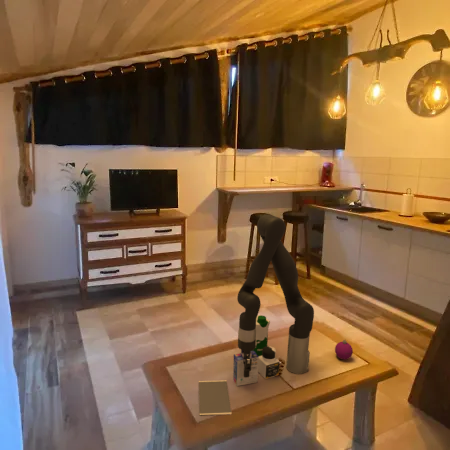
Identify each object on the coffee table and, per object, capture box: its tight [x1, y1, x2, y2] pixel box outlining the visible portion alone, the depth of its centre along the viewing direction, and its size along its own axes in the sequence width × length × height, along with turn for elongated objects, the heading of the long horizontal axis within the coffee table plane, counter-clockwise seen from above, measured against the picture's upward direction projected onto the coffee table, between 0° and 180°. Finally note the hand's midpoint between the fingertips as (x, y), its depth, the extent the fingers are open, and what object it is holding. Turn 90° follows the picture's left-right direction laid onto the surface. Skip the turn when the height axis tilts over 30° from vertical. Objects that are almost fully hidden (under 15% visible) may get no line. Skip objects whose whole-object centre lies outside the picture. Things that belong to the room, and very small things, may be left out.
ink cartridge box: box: [232, 349, 259, 387], centre depth 158 cm, size 10×6×14 cm, turn 109°
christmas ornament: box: [334, 339, 354, 360], centre depth 178 cm, size 8×8×10 cm
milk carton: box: [252, 314, 271, 357], centre depth 179 cm, size 9×9×20 cm
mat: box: [198, 379, 232, 417], centre depth 148 cm, size 12×20×1 cm, turn 5°
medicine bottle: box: [258, 345, 280, 380], centre depth 164 cm, size 7×7×12 cm
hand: (245, 372), depth 159 cm, fingers closed on ink cartridge box, 6 cm apart
